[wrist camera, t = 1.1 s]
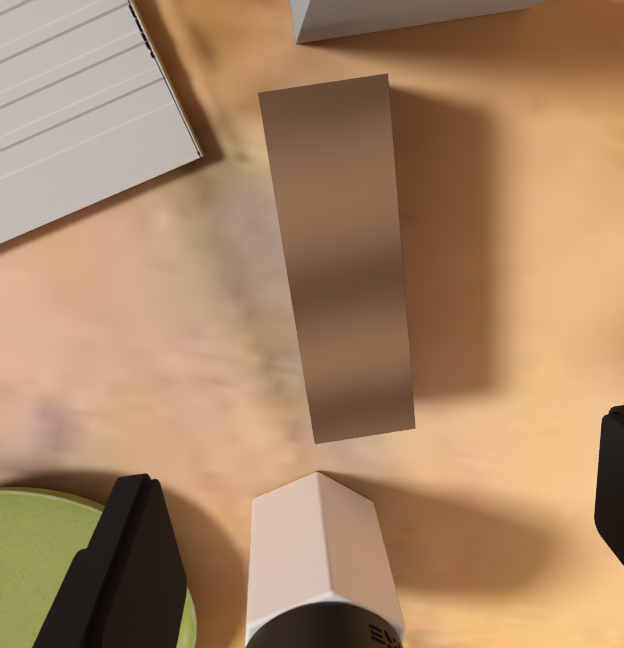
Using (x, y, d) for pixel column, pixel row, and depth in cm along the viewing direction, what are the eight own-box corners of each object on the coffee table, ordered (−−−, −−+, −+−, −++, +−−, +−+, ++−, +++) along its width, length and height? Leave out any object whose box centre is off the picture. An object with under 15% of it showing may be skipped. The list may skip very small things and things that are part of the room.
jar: (363, 578, 38) (401, 775, 27) (245, 576, 37) (234, 778, 26) (381, 472, 34) (432, 644, 23) (252, 467, 34) (242, 643, 23)
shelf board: (261, 96, 26) (258, 92, 21) (363, 81, 26) (387, 73, 21) (307, 386, 32) (315, 444, 27) (390, 373, 32) (415, 428, 27)
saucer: (102, 408, 32) (84, 438, 29) (253, 632, 39) (251, 675, 36) (-193, 532, 34) (-239, 573, 31) (5, 725, 41) (-16, 773, 38)
